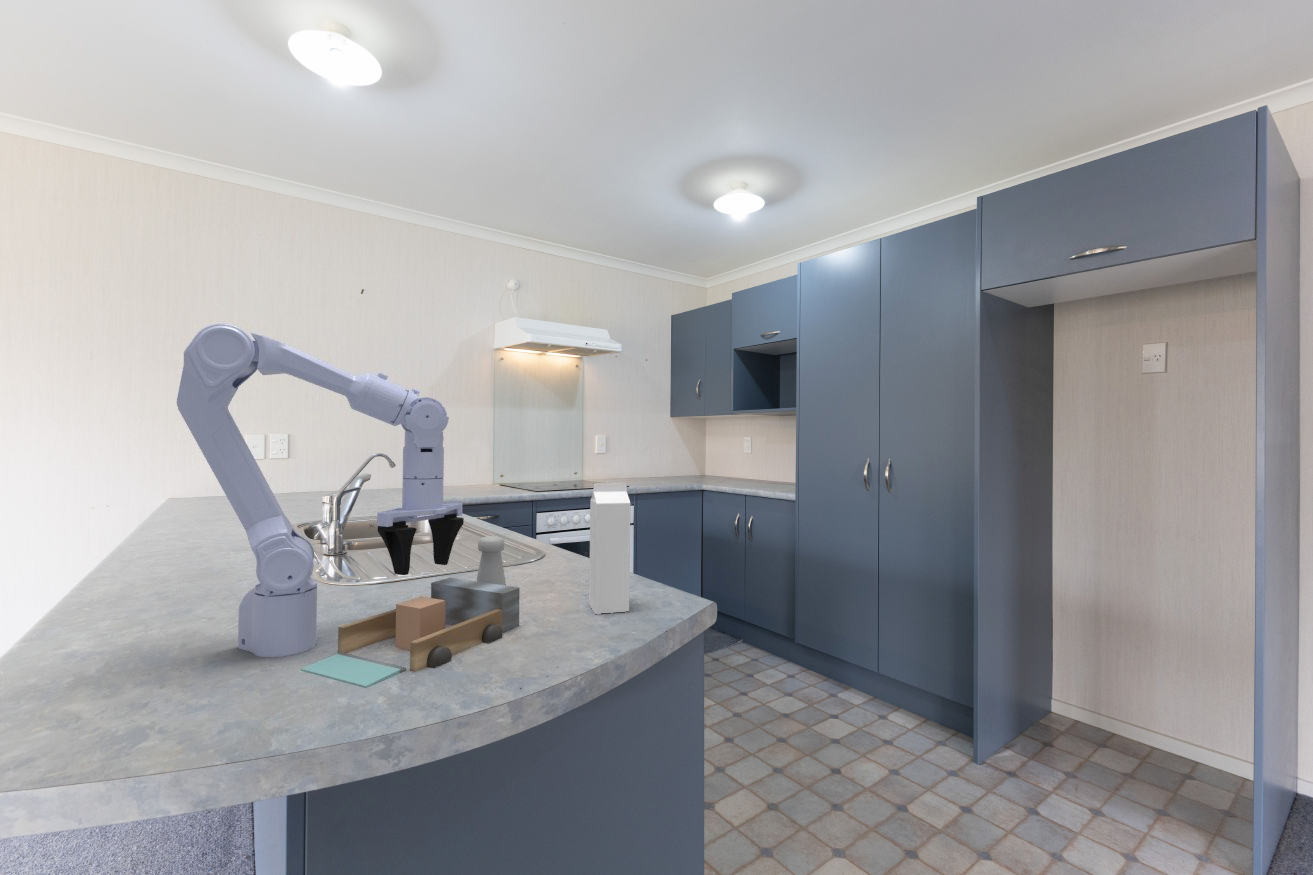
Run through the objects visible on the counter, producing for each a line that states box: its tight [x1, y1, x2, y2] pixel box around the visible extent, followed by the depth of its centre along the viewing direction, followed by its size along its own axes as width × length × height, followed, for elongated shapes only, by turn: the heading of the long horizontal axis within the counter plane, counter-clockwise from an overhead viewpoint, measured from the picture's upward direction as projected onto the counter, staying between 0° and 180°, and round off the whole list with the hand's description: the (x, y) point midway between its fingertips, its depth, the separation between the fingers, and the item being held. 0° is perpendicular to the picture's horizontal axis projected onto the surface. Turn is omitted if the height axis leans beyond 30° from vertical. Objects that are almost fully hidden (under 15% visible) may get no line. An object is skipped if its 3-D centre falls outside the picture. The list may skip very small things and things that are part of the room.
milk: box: [588, 482, 631, 615], centre depth 104 cm, size 6×6×22 cm
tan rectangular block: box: [394, 596, 446, 651], centre depth 82 cm, size 4×4×6 cm
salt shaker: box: [476, 535, 507, 586], centre depth 100 cm, size 6×6×13 cm
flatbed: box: [337, 577, 521, 672], centre depth 85 cm, size 16×20×7 cm
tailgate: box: [300, 652, 407, 689], centre depth 73 cm, size 11×1×6 cm
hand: (422, 568), depth 89 cm, fingers open, 7 cm apart
